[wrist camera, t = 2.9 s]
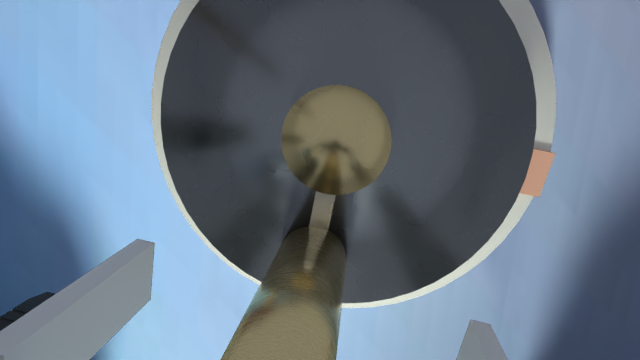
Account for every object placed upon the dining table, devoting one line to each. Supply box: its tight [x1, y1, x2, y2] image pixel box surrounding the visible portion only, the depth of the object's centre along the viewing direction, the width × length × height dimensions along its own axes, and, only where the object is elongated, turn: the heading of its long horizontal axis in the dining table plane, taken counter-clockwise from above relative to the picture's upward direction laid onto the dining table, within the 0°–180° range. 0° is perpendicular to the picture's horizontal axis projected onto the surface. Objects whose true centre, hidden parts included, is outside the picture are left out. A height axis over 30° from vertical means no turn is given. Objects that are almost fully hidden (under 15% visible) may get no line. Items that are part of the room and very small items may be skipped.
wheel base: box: [152, 0, 556, 308], centre depth 22 cm, size 22×22×4 cm
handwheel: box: [161, 0, 536, 360], centre depth 14 cm, size 18×18×12 cm
